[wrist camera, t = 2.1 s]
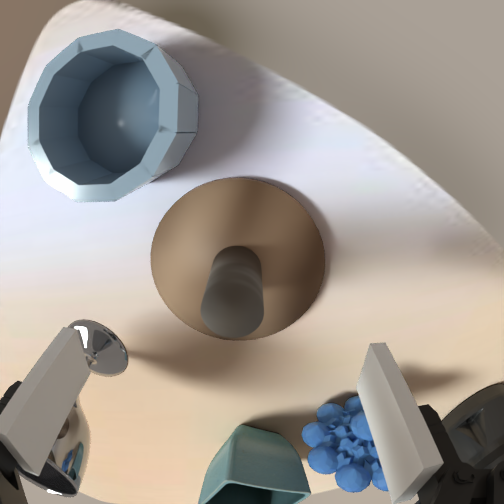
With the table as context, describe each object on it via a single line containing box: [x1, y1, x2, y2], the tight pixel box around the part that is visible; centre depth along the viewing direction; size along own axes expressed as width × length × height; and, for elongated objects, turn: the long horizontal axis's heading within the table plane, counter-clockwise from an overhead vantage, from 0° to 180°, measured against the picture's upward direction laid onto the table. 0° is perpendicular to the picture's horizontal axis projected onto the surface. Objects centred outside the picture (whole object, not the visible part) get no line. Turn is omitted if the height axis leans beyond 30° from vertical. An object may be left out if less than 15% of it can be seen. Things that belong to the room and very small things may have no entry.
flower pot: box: [198, 425, 311, 504], centre depth 28 cm, size 9×9×9 cm
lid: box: [151, 178, 325, 340], centre depth 21 cm, size 13×13×7 cm
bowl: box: [28, 29, 199, 202], centre depth 18 cm, size 10×10×6 cm
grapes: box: [302, 396, 389, 493], centre depth 24 cm, size 12×7×12 cm, turn 98°
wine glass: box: [15, 320, 128, 497], centre depth 21 cm, size 8×8×15 cm
